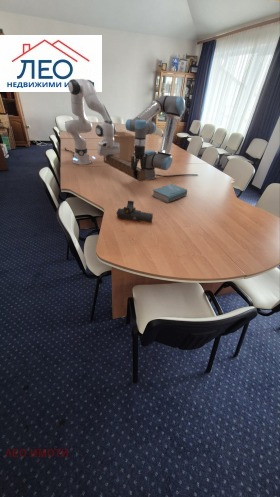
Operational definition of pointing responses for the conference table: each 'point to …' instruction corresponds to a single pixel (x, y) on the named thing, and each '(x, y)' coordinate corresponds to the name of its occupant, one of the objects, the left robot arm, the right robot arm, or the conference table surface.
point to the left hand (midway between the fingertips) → (109, 159)
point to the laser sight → (133, 213)
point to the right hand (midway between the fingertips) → (138, 178)
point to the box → (125, 144)
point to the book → (169, 193)
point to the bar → (124, 167)
